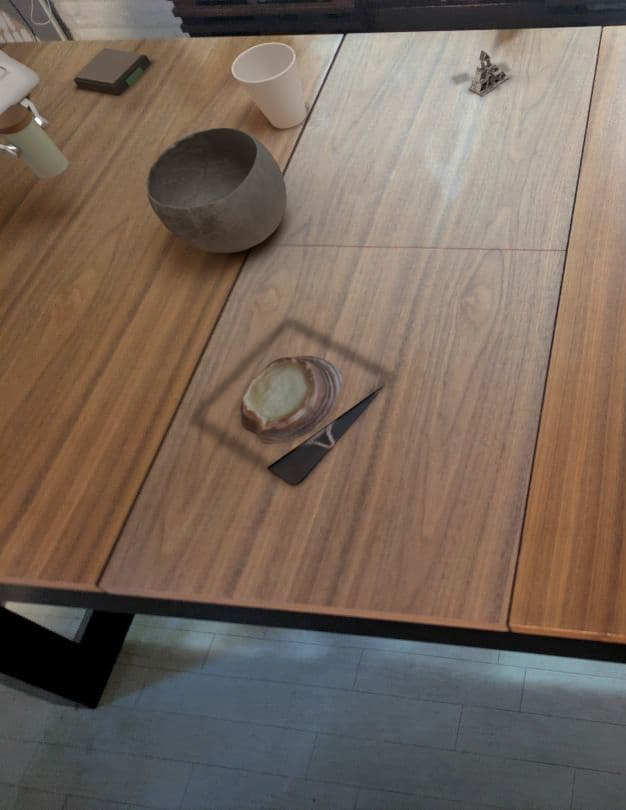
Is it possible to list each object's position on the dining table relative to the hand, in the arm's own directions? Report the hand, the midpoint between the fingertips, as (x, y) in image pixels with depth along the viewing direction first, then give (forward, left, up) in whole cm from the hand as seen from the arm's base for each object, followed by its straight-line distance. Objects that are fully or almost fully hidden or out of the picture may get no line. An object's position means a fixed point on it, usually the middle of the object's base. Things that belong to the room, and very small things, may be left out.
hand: (32, 141), depth 116 cm
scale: (+20, +37, -16) cm, 45 cm away
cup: (+40, -4, -16) cm, 43 cm away
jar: (0, +1, -5) cm, 5 cm away
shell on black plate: (+8, -62, -16) cm, 65 cm away
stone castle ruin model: (+74, -23, -16) cm, 79 cm away
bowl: (+19, -25, -16) cm, 35 cm away
